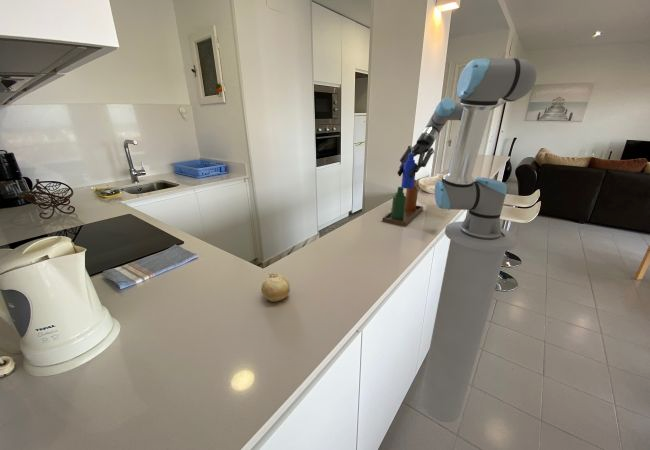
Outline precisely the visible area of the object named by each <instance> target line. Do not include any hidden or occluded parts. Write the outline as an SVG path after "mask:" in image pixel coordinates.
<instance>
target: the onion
mask: <svg viewBox="0 0 650 450" xmlns="http://www.w3.org/2000/svg"><path fill="white" fill-rule="evenodd" d="M267 274H268V275H269V276H268V277H267V278H266V279H265V280H264V281H263V282H262V284H261V289H260V291H261V294H262V296H263V297H264V298H265V299H266V300H267V301H269V302H271V303H275V302H280V301H282V300H284V299H285V298H287V297H288V295H289V294H290V290H291V288H290V287H291V286H290V282H289V281H288V280H287V278H286V277H284V276H282V275H280V274H278V273H275V272H272V273H267Z"/></svg>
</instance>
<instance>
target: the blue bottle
mask: <svg viewBox="0 0 650 450" xmlns="http://www.w3.org/2000/svg"><path fill="white" fill-rule="evenodd" d="M417 163H418V162H417ZM417 163H416V160H415V156H414V154H413V153H409V155H408V160H406V162H405V163H404V167H403V173H402V175H401V176H402V177H401V185H400V187H403V189H405V190H406V189H412V188H414V181H415V180H416V174H415V175H414V177H413V178H410V176H409V174H410V173H411V171H412V169H413V168H414V166H415V164H417ZM417 165H418V164H417Z"/></svg>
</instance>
